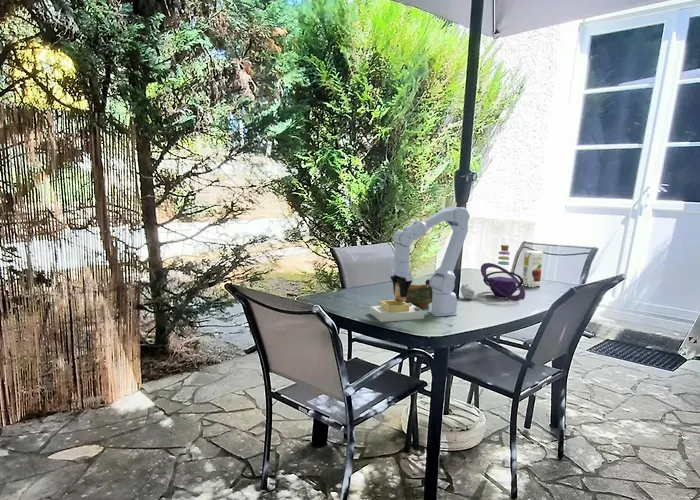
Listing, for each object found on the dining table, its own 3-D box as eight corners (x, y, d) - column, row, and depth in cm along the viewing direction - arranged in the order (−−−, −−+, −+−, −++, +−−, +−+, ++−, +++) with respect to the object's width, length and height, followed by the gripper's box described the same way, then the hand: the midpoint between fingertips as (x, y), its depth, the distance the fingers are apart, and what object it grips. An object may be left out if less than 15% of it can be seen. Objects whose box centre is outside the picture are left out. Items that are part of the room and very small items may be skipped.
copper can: (403, 298, 180) (404, 281, 179) (407, 301, 176) (408, 283, 175) (393, 299, 178) (393, 282, 178) (397, 302, 174) (398, 284, 173)
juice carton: (519, 285, 245) (522, 250, 242) (533, 284, 247) (535, 250, 245) (529, 288, 238) (531, 252, 235) (542, 287, 240) (545, 252, 238)
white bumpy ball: (466, 296, 216) (467, 282, 215) (477, 299, 210) (478, 285, 209) (457, 297, 213) (457, 283, 212) (467, 301, 207) (468, 286, 206)
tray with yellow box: (410, 310, 189) (411, 297, 188) (424, 318, 177) (424, 305, 176) (370, 313, 183) (370, 300, 182) (381, 321, 172) (381, 307, 171)
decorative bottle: (508, 304, 202) (512, 249, 199) (469, 295, 218) (472, 244, 215) (534, 297, 216) (538, 246, 213) (495, 289, 232) (498, 241, 229)
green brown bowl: (416, 311, 187) (417, 287, 186) (389, 301, 204) (390, 279, 203) (440, 308, 193) (441, 285, 192) (413, 298, 211) (413, 277, 209)
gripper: (385, 258, 181) (384, 291, 182) (400, 264, 167) (398, 300, 169) (401, 258, 183) (400, 291, 185) (417, 264, 169) (415, 299, 171)
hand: (400, 295), depth 177 cm, fingers closed on copper can, 4 cm apart
